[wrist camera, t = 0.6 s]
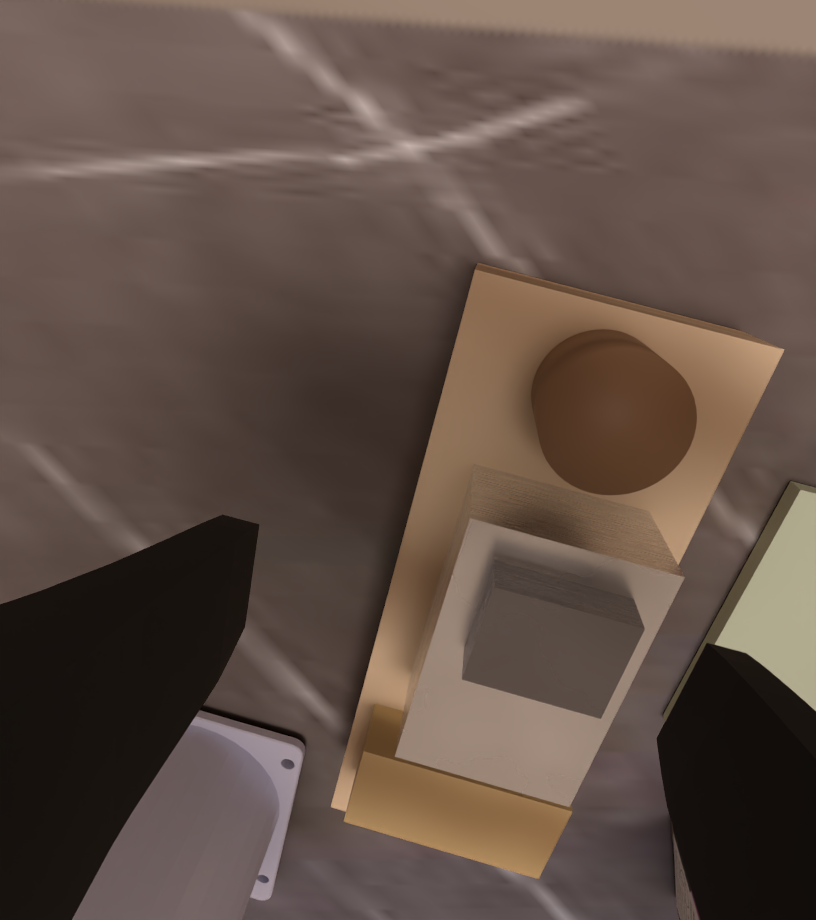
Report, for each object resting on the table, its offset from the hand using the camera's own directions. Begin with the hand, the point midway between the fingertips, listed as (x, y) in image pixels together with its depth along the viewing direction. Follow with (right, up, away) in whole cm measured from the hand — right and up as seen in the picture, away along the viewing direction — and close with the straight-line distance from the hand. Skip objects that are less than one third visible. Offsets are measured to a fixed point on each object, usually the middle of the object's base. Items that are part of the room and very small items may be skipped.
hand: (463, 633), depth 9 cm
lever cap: (+2, -1, +7) cm, 7 cm away
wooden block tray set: (+2, -1, +10) cm, 10 cm away
